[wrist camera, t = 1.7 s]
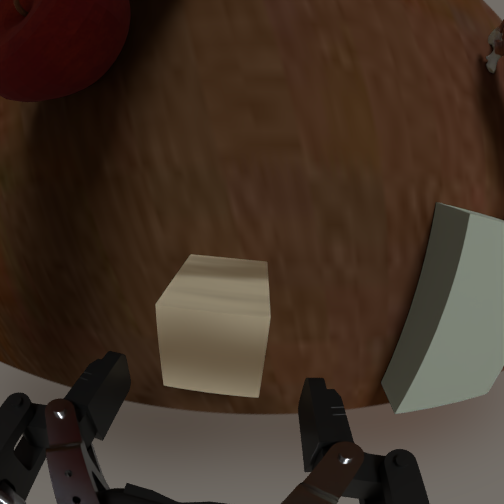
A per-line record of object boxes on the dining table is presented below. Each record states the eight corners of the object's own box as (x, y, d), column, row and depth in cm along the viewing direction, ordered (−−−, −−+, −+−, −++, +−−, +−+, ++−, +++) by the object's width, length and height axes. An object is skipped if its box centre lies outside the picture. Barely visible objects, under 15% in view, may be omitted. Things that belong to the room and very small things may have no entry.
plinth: (436, 202, 17) (470, 213, 13) (522, 226, 17) (550, 238, 13) (380, 382, 22) (394, 414, 18) (469, 371, 22) (487, 393, 18)
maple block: (190, 254, 19) (155, 304, 12) (267, 261, 19) (270, 317, 12) (190, 319, 20) (163, 385, 13) (259, 327, 20) (258, 397, 13)
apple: (132, 114, 16) (25, 88, 6) (36, 109, 15) (-60, 105, 6) (174, -4, 13) (120, -87, 3) (72, 7, 12) (-2, -34, 3)
